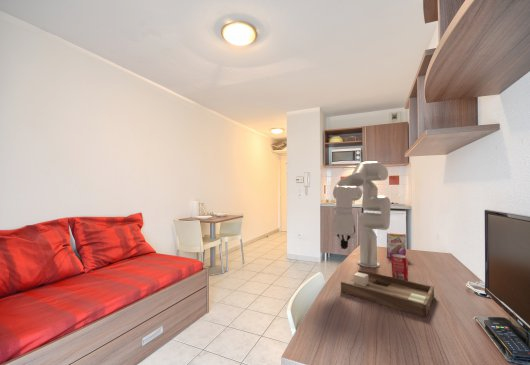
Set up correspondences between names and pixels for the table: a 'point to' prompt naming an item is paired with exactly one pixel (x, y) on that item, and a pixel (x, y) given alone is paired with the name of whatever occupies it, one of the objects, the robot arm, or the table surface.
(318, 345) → the table surface
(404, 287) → the board
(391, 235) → the candy bar box
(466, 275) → the table surface
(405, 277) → the red carton
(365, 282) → the cream block
